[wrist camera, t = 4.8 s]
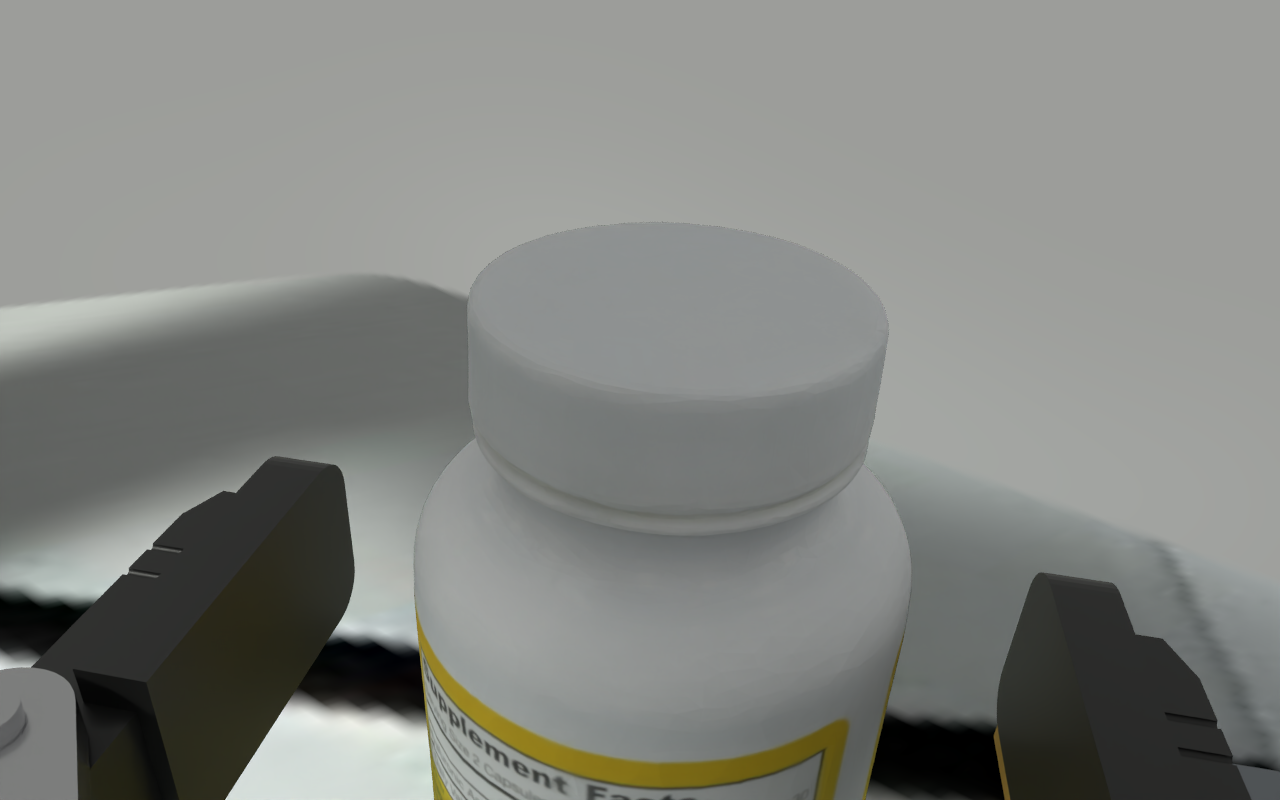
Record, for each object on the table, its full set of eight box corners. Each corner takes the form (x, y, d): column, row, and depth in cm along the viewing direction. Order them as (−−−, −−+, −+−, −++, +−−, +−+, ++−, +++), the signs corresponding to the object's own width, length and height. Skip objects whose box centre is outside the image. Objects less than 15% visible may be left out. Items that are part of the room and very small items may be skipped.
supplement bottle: (623, 707, 17) (656, 168, 13) (893, 906, 14) (1076, 299, 10) (364, 920, 14) (270, 279, 9) (653, 1243, 11) (750, 544, 6)
